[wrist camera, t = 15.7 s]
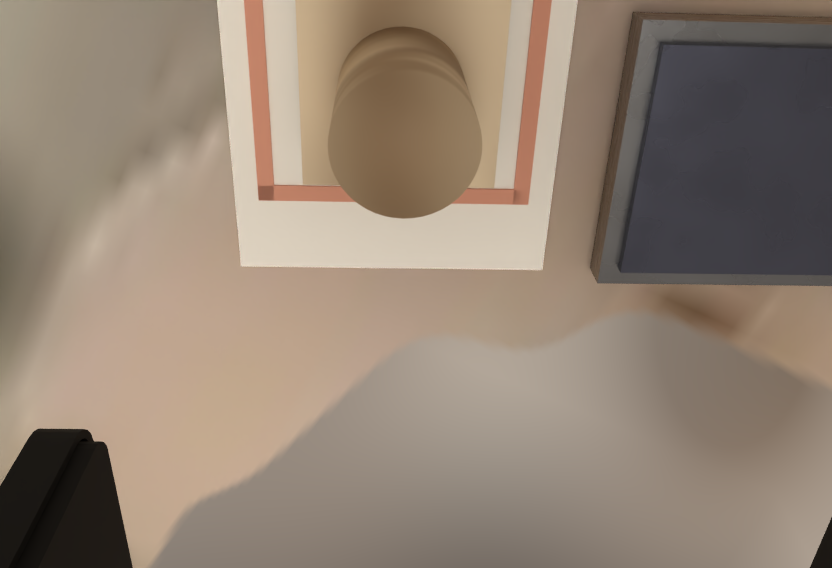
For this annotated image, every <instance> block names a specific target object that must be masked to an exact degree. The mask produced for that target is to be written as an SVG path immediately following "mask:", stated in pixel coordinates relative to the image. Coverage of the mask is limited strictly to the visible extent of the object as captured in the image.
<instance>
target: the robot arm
mask: <svg viewBox="0 0 832 568" xmlns="http://www.w3.org/2000/svg"><path fill="white" fill-rule="evenodd" d="M0 568H133V567H132V563H131V558H130V553H129V548H128V543H127V539H126V534H125V529H124V524H123V520H122V515H121V510H120V505H119V501H118V496H117V491H116V486H115V482H114V477H113V472H112V467H111V462H110V458H109V453H108V449H107V446H106V444H105V443H104V442H94V441H93V438H92V435H91V433H90V432H89V431H88V430H85V429H37V430H36V431H34V432H33V433H32V434H31V436H30V437H29V439H28V440H27V442H26V444H25V445H24V447H23V449H22V450H21V452H20V454H19V455H18V457H17V459H16V460H15V462H14V464H13V465H12V467H11V469H10V471H9V472H8V474H7V476H6V477H5V479H4V481H3V482H2V484H1V486H0ZM810 568H832V518H831V520H830V523H829V525H828V527H827V530H826V532H825V534H824V537H823V539H822V541H821V544H820V546H819V548H818V550H817V553H816V555H815V557H814V560H813V562H812V564H811V567H810Z"/></svg>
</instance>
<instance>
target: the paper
mask: <svg viewBox="0 0 832 568" xmlns="http://www.w3.org/2000/svg"><path fill="white" fill-rule="evenodd" d="M577 3H578V0H512V1H511V12H510V23H509V34H508V45H507V55H506V66H505V77H504V88H503V98H502V109H501V120H500V131H499V142H498V152H497V163H496V174H495V185H494V188H467V189H466V190H465V192H464V193H463V194H462V195H461V196H460V197H459V198H458V199H457V200H455V201H454V202H453V203H451V204H450V205H449V206H447V207H445V208H444V209H442V210H440V211H438V212H435V213H433V214H430V215H426V216H423V217H417V218H406V219H402V218H392V217H387V216H383V215H379V214H376V213H374V212H372V211H370V210H367V209H366V208H364V207H362V206H361V205H359V204H358V203H357V202H355V201H354V200H353V199H352V198H350V196H349V195H348V194H347V193H346V192H345V191H344V190H343V189H342V187H341V186H340V185H303V178H302V153H301V129H300V104H299V79H298V54H297V29H296V5H295V0H217V7H218V18H219V29H220V40H221V51H222V62H223V73H224V84H225V95H226V106H227V118H228V129H229V140H230V151H231V162H232V173H233V184H234V195H235V206H236V217H237V228H238V239H239V250H240V261H241V266H247V267H329V268H412V269H494V270H542V269H543V261H544V254H545V246H546V238H547V231H548V223H549V216H550V208H551V200H552V193H553V185H554V178H555V170H556V163H557V155H558V147H559V140H560V132H561V125H562V117H563V109H564V102H565V94H566V87H567V79H568V71H569V64H570V56H571V49H572V41H573V34H574V26H575V18H576V11H577Z"/></svg>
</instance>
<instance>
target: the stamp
mask: <svg viewBox="0 0 832 568" xmlns="http://www.w3.org/2000/svg"><path fill="white" fill-rule="evenodd" d="M511 1H512V0H295V5H296V29H297V54H298V79H299V104H300V129H301V153H302V178H303V185H340V186H341V187H342V189H343V190H344V191H345V192H346V193H347V194H348V195H349V196H350V198H352V199H353V200H354V201H355V202H357V203H358V204H359V205H361V206H362V207H364V208H366V209H367V210H370V211H372V212H374V213H376V214H379V215H383V216H387V217H392V218H402V219H406V218H417V217H423V216H426V215H430V214H433V213H435V212H438V211H440V210H442V209H444V208H445V207H447V206H449V205H450V204H451V203H453V202H454V201H455V200H457V199H458V198H459V197H460V196H461V195H462V194H463V193H464V192H465V190H466V189H467V188H494V185H495V174H496V163H497V152H498V142H499V131H500V120H501V109H502V98H503V88H504V77H505V66H506V55H507V45H508V34H509V23H510V12H511Z"/></svg>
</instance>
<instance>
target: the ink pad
mask: <svg viewBox="0 0 832 568" xmlns="http://www.w3.org/2000/svg"><path fill="white" fill-rule="evenodd" d="M590 269H591V271H592V273H593V275H594V277H595V279H596V281H597V283H626V284H714V285H802V286H832V18H825V17H790V16H754V15H719V14H683V13H648V12H633V16H632V22H631V28H630V34H629V40H628V46H627V52H626V58H625V64H624V70H623V76H622V82H621V88H620V94H619V100H618V106H617V112H616V118H615V124H614V130H613V136H612V142H611V148H610V154H609V160H608V166H607V172H606V178H605V184H604V190H603V196H602V202H601V208H600V214H599V220H598V225H597V231H596V237H595V243H594V249H593V255H592V261H591V267H590Z"/></svg>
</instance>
